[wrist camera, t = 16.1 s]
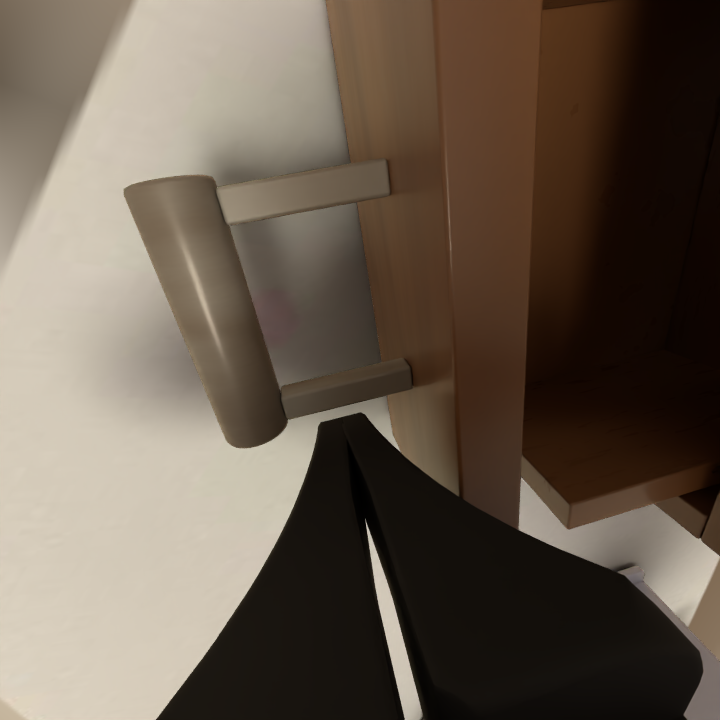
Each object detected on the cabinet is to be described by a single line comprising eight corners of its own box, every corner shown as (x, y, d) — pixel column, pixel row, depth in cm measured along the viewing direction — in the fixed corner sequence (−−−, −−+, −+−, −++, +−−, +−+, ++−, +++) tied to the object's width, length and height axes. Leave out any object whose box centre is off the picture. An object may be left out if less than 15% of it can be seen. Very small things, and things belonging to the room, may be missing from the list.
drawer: (276, 464, 12) (267, 656, 7) (110, -6, 7) (-441, -670, 2) (645, 368, 14) (865, 466, 8) (740, -77, 8) (1476, -543, 3)
